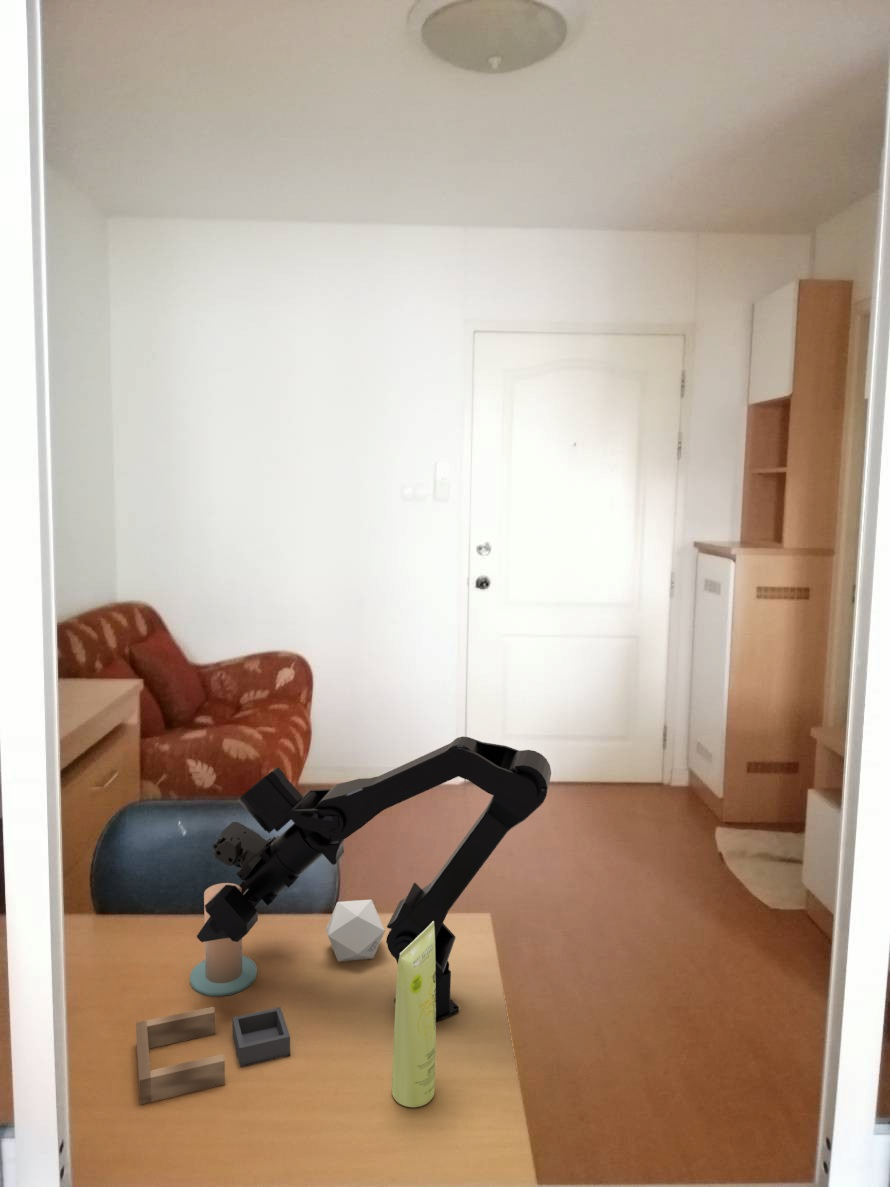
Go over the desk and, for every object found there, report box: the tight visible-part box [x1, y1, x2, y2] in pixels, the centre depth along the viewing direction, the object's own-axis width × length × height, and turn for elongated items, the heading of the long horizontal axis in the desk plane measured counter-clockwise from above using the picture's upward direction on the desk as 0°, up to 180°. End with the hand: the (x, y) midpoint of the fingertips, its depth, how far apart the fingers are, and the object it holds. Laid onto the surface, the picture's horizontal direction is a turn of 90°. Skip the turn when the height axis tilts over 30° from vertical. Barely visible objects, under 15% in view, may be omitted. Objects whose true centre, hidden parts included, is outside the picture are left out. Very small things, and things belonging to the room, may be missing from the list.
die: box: [325, 899, 386, 962], centre depth 122 cm, size 8×9×10 cm
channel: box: [135, 1006, 226, 1106], centre depth 99 cm, size 9×10×3 cm
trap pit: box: [231, 1006, 291, 1068], centre depth 103 cm, size 6×6×2 cm
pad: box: [189, 954, 258, 997], centre depth 116 cm, size 9×9×1 cm
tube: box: [391, 921, 437, 1108], centre depth 94 cm, size 6×5×20 cm
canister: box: [203, 882, 243, 983], centre depth 115 cm, size 5×5×12 cm
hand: (215, 920), depth 115 cm, fingers open, 9 cm apart
